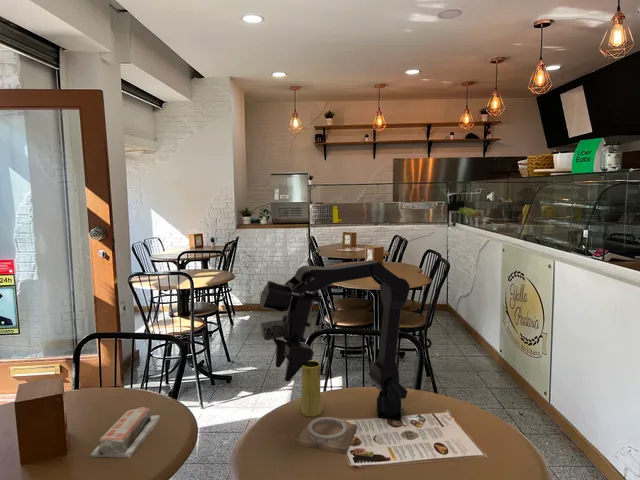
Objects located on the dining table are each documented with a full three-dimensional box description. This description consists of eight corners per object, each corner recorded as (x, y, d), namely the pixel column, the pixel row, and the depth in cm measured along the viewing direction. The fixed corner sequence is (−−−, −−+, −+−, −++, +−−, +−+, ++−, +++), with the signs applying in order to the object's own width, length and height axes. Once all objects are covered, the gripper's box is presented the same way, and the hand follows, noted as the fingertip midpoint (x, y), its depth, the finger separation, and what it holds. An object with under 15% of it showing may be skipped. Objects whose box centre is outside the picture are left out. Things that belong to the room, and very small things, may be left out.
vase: (319, 417, 123) (319, 368, 121) (298, 415, 124) (297, 367, 122) (323, 407, 128) (323, 360, 127) (303, 405, 130) (303, 358, 128)
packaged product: (130, 440, 104) (88, 440, 104) (131, 459, 105) (90, 459, 105) (160, 404, 122) (124, 403, 122) (160, 420, 122) (125, 420, 123)
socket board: (356, 428, 117) (357, 419, 117) (346, 453, 106) (346, 443, 105) (310, 420, 121) (310, 412, 121) (295, 444, 110) (295, 435, 109)
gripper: (260, 300, 118) (245, 356, 118) (278, 319, 100) (259, 384, 100) (298, 308, 122) (283, 362, 122) (321, 327, 104) (304, 390, 104)
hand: (282, 373), depth 112 cm, fingers open, 9 cm apart
